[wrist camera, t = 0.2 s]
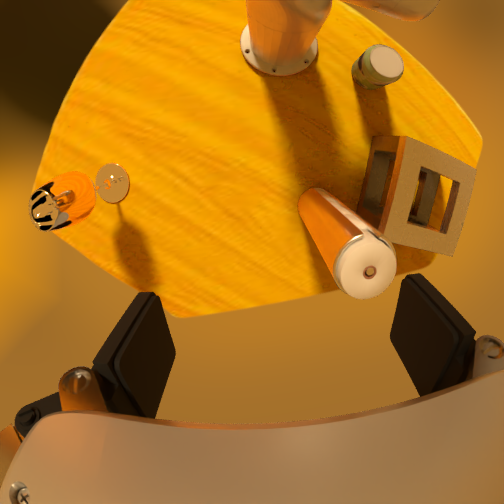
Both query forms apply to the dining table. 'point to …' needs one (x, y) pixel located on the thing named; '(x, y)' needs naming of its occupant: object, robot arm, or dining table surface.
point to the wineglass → (75, 196)
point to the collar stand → (403, 189)
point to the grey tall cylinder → (348, 245)
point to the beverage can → (377, 67)
